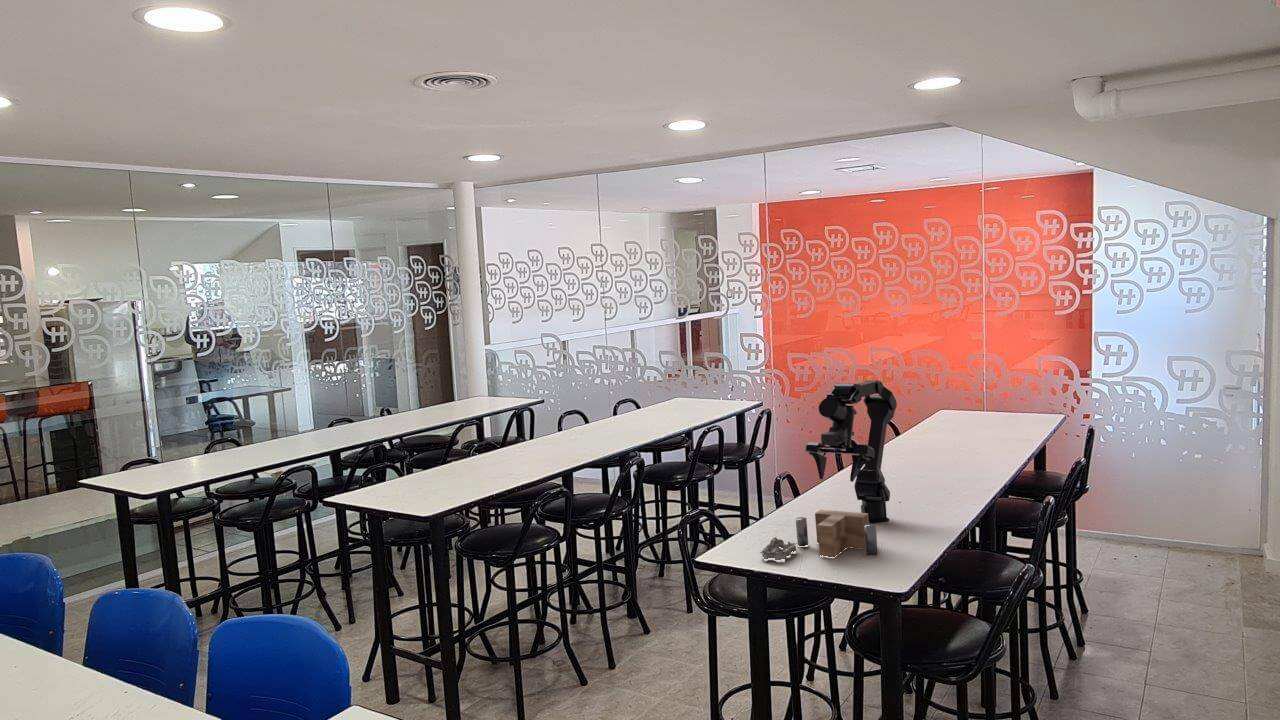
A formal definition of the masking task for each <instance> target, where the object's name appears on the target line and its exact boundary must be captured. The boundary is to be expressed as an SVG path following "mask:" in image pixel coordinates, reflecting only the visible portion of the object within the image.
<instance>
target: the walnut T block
mask: <svg viewBox="0 0 1280 720" xmlns="http://www.w3.org/2000/svg"><path fill="white" fill-rule="evenodd" d="M814 517H815V519H814V521H815V530H816V543H817V542H818V543H819V545H818V553H819V556H820V555H821V556H822V555H823V556H828V557H835V556H836V555H838V554H839V553H840V552H842V551H843V550H844V549H845V548H847V547H853V548H852V549H856V548H861V549H860V550H866V542H865V528H864V525H865V524H867V523H869V518H868V513H861V512H856V511H844V510H831V509H819V510H818V511H816V512H815V513H814ZM847 549H848V548H847ZM844 551H845V550H844ZM844 551H843V552H844ZM843 552H842V553H843ZM839 555H840V554H839ZM839 555H838V556H839Z"/></svg>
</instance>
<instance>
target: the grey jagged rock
mask: <svg viewBox="0 0 1280 720" xmlns="http://www.w3.org/2000/svg"><path fill="white" fill-rule="evenodd" d="M796 545H798V542H797V543H796V542H795V541H794V542H790V541H788V542H787V543H785V541H784V540H783V539H781V538H780V539H779V538H777V536H775V537H773V538H772V539H771V540H770V541H769V543H768V544H767V545H766V546H765V548H762V550H761V551H760V552H759V553H760V554H761V555H762V558H763V557H764V559H768V558H775V560H781V559H786V560H787V558H786V556H789V555H791V556H792V554H791V552H792V551H793V552H794V551H796V552H797V546H796ZM779 547H781V548H783V550H780V548H779ZM786 549H787V550H786Z"/></svg>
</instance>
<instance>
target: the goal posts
mask: <svg viewBox="0 0 1280 720" xmlns="http://www.w3.org/2000/svg"><path fill="white" fill-rule="evenodd" d="M795 527H796V540H797V546H798V545H799V546H805V545H808V544H809V533H808V521H807V517H803V516H801V517H795ZM864 528H865V542H866V549H865V552H866V553H865V554H866V555H867V556H869V555H875V556H878V555H879V550H878V537H877V536H878V535H877V534H878V533H877V525H876V523H867V524H865V525H864ZM877 554H878V555H877Z"/></svg>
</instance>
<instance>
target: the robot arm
mask: <svg viewBox="0 0 1280 720" xmlns="http://www.w3.org/2000/svg"><path fill="white" fill-rule="evenodd" d="M894 395H895V394H893V392H892V391H891V390H890V389H889V388H887V387H885V386H884V384H883V382H882V381H880V380H877V379H876V380H874V379H873V380H872V379H871V380H866V381H863V382H859V383H835V385H834V386H833V388H832V389H831V390H830V392H829V393H827V394H826V398H824V399H822V401H820V403H819V405H818V412H819V414H820V415H821V417H824V418H826V419H827V420H829V421H831V422H832V424H831V426H830V427H829V429H828V431H827V432H823V433H821V434H820V442H813V441H811V442H810V441H808V443H806V445H805V448H804V449H805V450H804V451H805V452H806V453H808V454H809V456H811V457H813V459H814V462H815V464H816V468H817V473H818V476H819V480H824V476H825V470H826V465H827V458H828V457H827V456H826V454H843V455H851V459H852V464H851V469H850V476H849V477H850V479H849V481H850V482H851V483H853V482H854V481H855V482H854V492H855V495H856V499H857V501H861V504H860V513H868V518H869V523H873V524H875V523H879V522H886V521H890V518H889V517H887V515H888V514H887V504H886V503H887V502H889V501H890V498H891V491H890V490H889V488H888V486H887V485H886V479H885V477H884V474H883V472H882V462H883V455H884V450H885V449H884V447H885V442H886V441H885V440H886V434H887V426H888V424H889V423H890V422H891V421H892V419H893V418H894V416H895V411H896V409H897V407H898V406H897V405H898V404H897V403H898V402H897V400H896V397H895V396H894ZM863 397H864V398H863ZM862 399H863V403H864V405H865V407H866V413H867V416H868V418H869V419H870V420H869V421H870V427H869V431H868V440H867V444H854V446H852V436H853V437H854V436H855V431H853V429H854V419H855V415H857V410H856V409H855V407H854V405H855V404H858V403H859V402H861V401H862Z"/></svg>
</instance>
